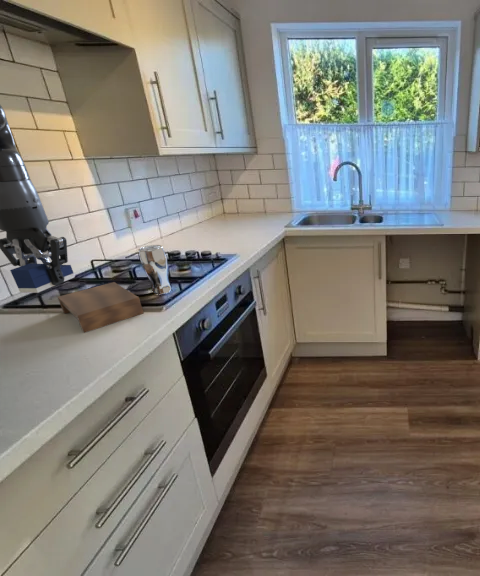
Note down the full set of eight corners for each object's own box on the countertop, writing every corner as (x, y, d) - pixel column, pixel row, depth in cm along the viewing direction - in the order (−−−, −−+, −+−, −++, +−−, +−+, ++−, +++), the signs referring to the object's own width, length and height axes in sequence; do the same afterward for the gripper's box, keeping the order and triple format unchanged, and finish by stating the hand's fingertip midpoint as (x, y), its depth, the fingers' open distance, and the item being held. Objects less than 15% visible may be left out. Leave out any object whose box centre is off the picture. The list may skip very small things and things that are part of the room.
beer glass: (148, 292, 117) (135, 247, 112) (171, 286, 122) (160, 243, 116) (153, 298, 113) (139, 252, 107) (177, 292, 117) (165, 247, 111)
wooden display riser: (84, 332, 93) (77, 315, 91) (63, 312, 105) (57, 296, 103) (143, 313, 103) (138, 297, 101) (119, 296, 115) (114, 281, 113)
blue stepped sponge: (37, 292, 74) (28, 270, 72) (20, 292, 74) (9, 270, 73) (75, 277, 82) (67, 256, 81) (59, 277, 83) (50, 256, 81)
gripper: (-39, 207, 69) (0, 290, 75) (30, 207, 68) (64, 290, 74) (2, 201, 76) (35, 277, 82) (65, 200, 75) (93, 277, 81)
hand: (48, 283), depth 78 cm, fingers closed on blue stepped sponge, 4 cm apart
